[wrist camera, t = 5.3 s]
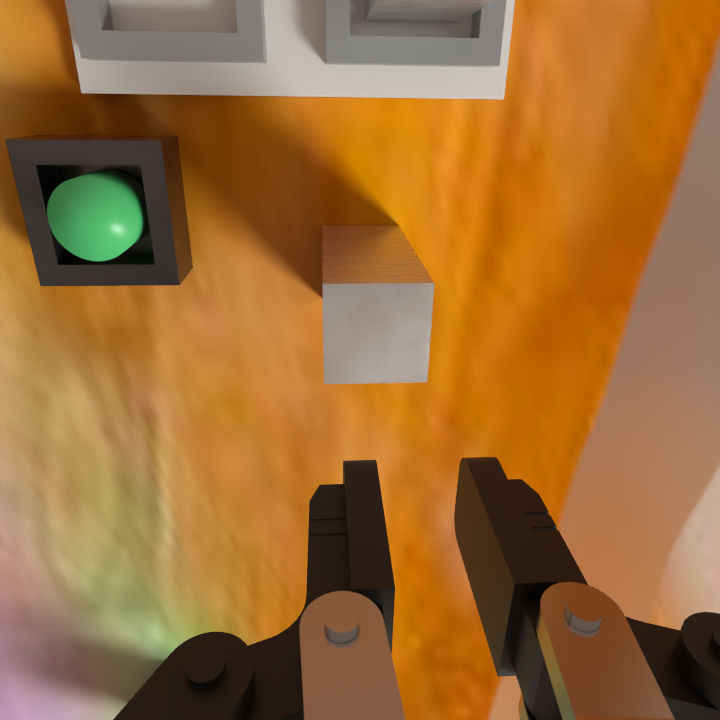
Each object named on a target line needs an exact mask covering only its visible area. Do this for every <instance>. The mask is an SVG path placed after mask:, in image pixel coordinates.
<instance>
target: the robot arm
mask: <svg viewBox="0 0 720 720" xmlns="http://www.w3.org/2000/svg"><path fill="white" fill-rule="evenodd" d="M454 521H455V533H456V538H457V542H458V546H459V549H460V552H461V556H462V559H463V562H464V566H465V569H466V572H467V575H468V579H469V582H470V585H471V589H472V592H473V595H474V599H475V602H476V605H477V609H478V612H479V615H480V619H481V622H482V625H483V628H484V632H485V635H486V638H487V642H488V645H489V648H490V652H491V655H492V658H493V662H494V665H495V668H496V672H497V675H498V676H517V679H518V682H519V685H520V688H521V691H522V692H521V697H520V701H519V717H520V720H720V614H718V613H712V612H701V613H696V614H693V615H691V616H689V617H688V618H687V619H686V620H685V621H684V623H683V625H682V628H681V630H675V629H671V628H667V627H662V626H658V625H654V624H649V623H644V622H641V621H637V620H634V619H631V618H629V617H626V616H625V615H624V613H623V612H622V610H621V609H620V607H619V606H618V605H617V604H616V603H615V602H614V601H613V600H612V599H611V598H610V597H609V596H607V595H606V594H604V593H603V592H601V591H599V590H598V589H596V588H593V587H591V586H589V585H588V584H587V582H586V580H585V578H584V576H583V575H582V573H581V571H580V569H579V567H578V566H577V564H576V562H575V560H574V558H573V556H572V554H571V552H570V551H569V549H568V547H567V545H566V543H565V541H564V540H563V538H562V536H561V534H560V532H559V530H557V529H556V525H555V523H554V521H553V519H552V517H551V516H550V515H549V514H548V510H547V508H546V506H545V505H544V503H543V501H542V499H541V497H540V495H539V494H538V493H537V492H536V491H534V490H533V489H532V488H531V487H530V486H529V485H527V484H526V483H525V482H524V481H523V480H522V479H513V480H508V479H507V477H506V475H505V473H504V471H503V469H502V467H501V465H500V463H499V461H498V459H497V458H496V457H478V458H462V459H461V462H460V467H459V476H458V485H457V495H456V504H455V515H454ZM394 596H395V585H394V578H393V571H392V565H391V558H390V551H389V544H388V537H387V530H386V524H385V517H384V510H383V503H382V496H381V490H380V483H379V476H378V469H377V463H376V460H357V461H343V484H332V485H319V487H318V489H317V490H316V492H315V493H314V495H313V496H312V498H311V500H310V505H309V539H308V566H307V596H306V603H305V606H304V609H303V611H302V613H301V614H300V616H299V617H298V619H297V620H296V621H295V622H294V623H293V624H292V625H291V626H290V627H289V628H287V629H286V630H285V631H283V632H281V633H280V634H278V635H276V636H274V637H271V638H269V639H266V640H263V641H260V642H257V643H254V644H252V645H249V646H247V645H246V643H245V642H244V641H242V640H241V639H240V638H238V637H237V636H235V635H232V634H229V633H224V632H209V633H204V634H200V635H197V636H195V637H192V638H190V639H189V640H187V641H185V642H183V643H182V644H181V645H180V646H178V647H177V648H176V649H175V650H174V651H173V652H172V653H171V654H170V655H169V656H168V657H167V659H166V660H165V661H164V662H163V663H162V664H161V665H160V667H159V668H158V669H157V670H156V671H155V672H154V673H153V675H152V676H151V677H150V678H149V679H148V680H147V681H146V683H145V684H144V685H143V686H142V687H141V688H140V690H139V691H138V692H137V693H136V694H135V695H134V696H133V698H132V699H131V700H130V701H129V702H128V703H127V704H126V706H125V707H124V708H123V709H122V710H121V711H120V712H119V714H118V715H117V716H116V717H115V718H114V719H113V720H405V716H404V711H403V707H402V702H401V697H400V693H399V688H398V684H397V679H396V674H395V670H394V665H393V661H392V656H391V653H392V634H393V615H394Z"/></svg>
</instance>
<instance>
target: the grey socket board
mask: <svg viewBox="0 0 720 720" xmlns="http://www.w3.org/2000/svg"><path fill="white" fill-rule="evenodd" d="M514 3H515V0H496V1H495V2H493V3H491V4H489V5H487V6H486V7H484V8H482V9H480V10H478V11H477V12H475V13H473V14H471V15H469V16H467V17H466V18H464V19H462V20H460V21H458V22H457V23H444V22H401V21H365V0H65V5H66V10H67V16H68V21H69V27H70V32H71V38H72V43H73V49H74V54H75V60H76V66H77V71H78V77H79V82H80V88H81V93H95V94H165V95H235V96H305V97H376V98H446V99H504V93H505V84H506V75H507V66H508V57H509V48H510V39H511V30H512V21H513V12H514Z"/></svg>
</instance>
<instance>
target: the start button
mask: <svg viewBox="0 0 720 720" xmlns="http://www.w3.org/2000/svg"><path fill="white" fill-rule="evenodd" d="M47 217H48V222H49V225H50V228H51V230H52V232H53V234H54V236H55V237H56V239H57V240H58V241H59V243H60V244H61V245H62V246H63V247H64V248H66V249H67V250H68V251H69V252H71V253H72V254H74V255H76V256H78V257H80V258H83V259H86V260H91V261H106V260H110V259H113V258H115V257H117V256H119V255H120V254H122V253H123V252H124V251H126V250H127V249H128V248H129V247H131V246H132V245H133V244H134V243H136V242H137V241H138V240H140V239H141V238H142V237H143V236H144V235H145V234H146V233H147V231H148V229H149V228H150V226H149V219H148V213H147V206H146V199H145V192H144V188H143V187H142V186H141V184H139V183H138V182H137V181H136V180H135V179H134V178H133V177H131V176H129V175H128V174H126V173H123V172H121V171H118V170H113V169H102V170H97V171H94V172H91V173H88V174H85V175H82V176H79V177H76V178H73V179H70V180H67V181H65V182H63V183H61V184H60V185H59V186H58V187H57V188H56V189H55V190H54V191H53V193H52V194H51V196H50V199H49V202H48V207H47Z"/></svg>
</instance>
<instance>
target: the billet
mask: <svg viewBox="0 0 720 720" xmlns="http://www.w3.org/2000/svg"><path fill="white" fill-rule="evenodd" d="M322 284H323V345H324V384H356V383H411V382H427V377H428V363H429V349H430V336H431V322H432V308H433V294H434V282H433V280H432V279H431V277H430V275H429V274H428V272H427V270H426V269H425V267H424V265H423V264H422V262H421V261H420V259H419V257H418V256H417V254H416V252H415V251H414V249H413V247H412V246H411V244H410V243H409V241H408V239H407V238H406V236H405V234H404V233H403V231H402V229H401V228H400V226H399V225H322Z"/></svg>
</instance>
